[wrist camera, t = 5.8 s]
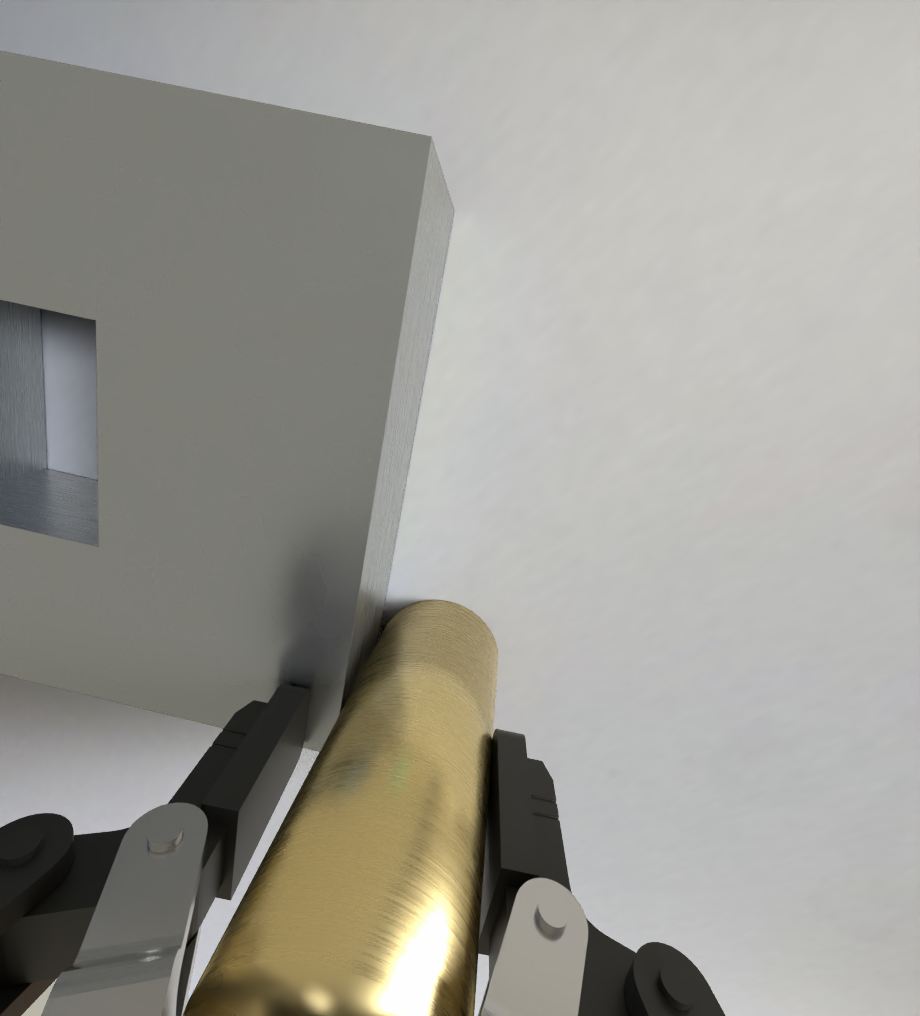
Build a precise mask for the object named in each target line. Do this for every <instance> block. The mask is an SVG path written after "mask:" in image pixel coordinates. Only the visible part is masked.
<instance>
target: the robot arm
mask: <svg viewBox="0 0 920 1016" xmlns="http://www.w3.org/2000/svg"><path fill="white" fill-rule="evenodd" d="M310 696H311V690H310V689H307V688H302V687H297V686H292V685H288V684H283V683H282V684H280V685H279V687H278V688H277V690H276V691H275V693H274V694H273V696H272V697H271V699H270V700H269V702H268V703H266V702H261V701H256V700H253V701H252V702H250V703H249V704H247V705H246V706H244V707H243V708H241V709H240V710H238V711H237V712H235V714H234V715H233V716H232V718H231V719H230V720H229V722H228V723H227V725H226V726H225V727H224V729H223V731H222V733H220V734H219V735H218V737H217V738H216V739H215V741H214V742H213V744H212V747H210V748H209V749H208V750H207V752H206V753H205V754H204V756H203V757H202V758H201V760H200V761H199V762H198V764H197V765H196V766H195V768H194V769H193V771H192V772H191V773H190V775H189V776H188V777H187V779H186V780H185V781H184V783H183V784H182V785H181V787H180V788H179V789H178V791H177V792H176V794H175V795H174V796H173V798H172V799H171V800H170V801H169V803H168V804H166V805H162V806H160V807H157V808H155V809H153V810H151V811H149V812H147V813H146V814H144V815H143V816H141V817H140V818H139V819H138V820H136V821H135V822H134V823H133V824H132V826H131V827H130V828H126V829H122V830H117V831H110V832H101V833H92V834H82V835H73V827H72V824H71V823H70V821H69V820H68V819H67V818H65V817H63V816H61V815H58V814H53V813H43V814H35V815H30V816H27V817H23V818H20V819H18V820H15V821H13V822H11V823H9V824H7V825H5V826H3V827H1V828H0V1016H21V1015H22V1014H23V1013H24V1012H25V1011H26V1010H27V1009H28V1008H29V1007H30V1005H31V1004H32V1003H34V1002H35V1000H36V999H37V998H38V997H39V996H40V995H41V994H42V993H43V992H44V991H45V990H46V989H47V988H48V987H49V986H50V985H51V984H52V983H53V982H54V981H55V979H57V978H58V979H57V981H56V982H55V984H54V986H53V989H52V991H51V993H50V995H49V998H48V1000H47V1003H46V1005H45V1007H44V1010H43V1013H42V1015H41V1016H183V1013H184V1010H185V1008H186V1003H187V998H188V993H189V988H190V983H191V978H192V973H193V968H194V962H195V957H196V952H197V947H198V942H199V937H200V931H201V924H202V922H203V920H204V918H205V916H206V914H207V912H208V910H209V908H210V906H211V905H212V903H213V901H214V899H215V897H217V898H222V899H227V900H231V899H232V896H233V894H234V892H235V890H236V888H237V886H238V884H239V882H240V880H241V878H242V876H243V874H244V872H245V870H246V868H247V866H248V864H249V861H250V859H251V857H252V855H253V853H254V851H255V849H256V847H257V845H258V843H259V841H260V839H261V837H262V835H263V833H264V831H265V828H266V826H267V824H268V822H269V820H270V818H271V816H272V814H273V812H274V810H275V808H276V806H277V804H278V802H279V800H280V798H281V795H282V793H283V791H284V789H285V787H286V785H287V783H288V781H289V779H290V777H291V775H292V773H293V771H294V769H295V767H296V764H297V762H298V760H299V757H300V754H301V751H302V748H303V744H304V740H305V734H306V726H307V719H308V711H309V704H310ZM558 817H559V815H558V809H557V804H556V796H555V790H554V784H553V779H552V778H551V776H550V774H549V772H548V771H547V769H546V767H545V765H544V764H543V762H542V761H539V760H534V759H529V758H527V751H526V742H525V736H524V735H523V734H518V733H513V732H509V731H504V730H499V729H496V730H495V731H494V734H493V738H492V754H491V770H490V786H489V800H488V815H487V830H486V845H485V859H484V874H483V889H482V904H481V918H480V933H479V948H478V953H479V954H484V955H489V981H488V984H487V987H486V990H485V993H484V997H483V1000H482V1003H481V1007H480V1010H479V1013H478V1016H725V1014H724V1012H723V1010H722V1009H721V1007H720V1005H719V1003H718V1001H717V999H716V998H715V996H714V994H713V992H712V990H711V988H710V986H709V985H708V983H707V981H706V980H705V978H704V976H703V975H702V974H701V972H700V971H699V970H698V968H697V967H696V966H695V965H694V964H693V963H692V962H691V961H690V960H689V959H688V958H687V957H686V956H685V955H683V954H682V953H681V952H679V951H678V950H676V949H675V948H673V947H671V946H669V945H666V944H663V943H659V942H651V943H646V944H645V945H643V946H642V947H641V948H640V949H639V950H638V951H637V953H635V952H634V951H632V950H630V949H628V948H627V947H625V946H623V945H622V944H620V943H618V942H616V941H615V940H613V939H611V938H610V937H608V936H606V935H605V934H603V933H602V932H600V931H599V930H598V929H597V928H595V927H594V926H593V925H592V924H591V923H590V922H589V921H588V920H587V918H586V916H585V914H584V911H583V909H582V907H581V905H580V904H579V902H578V901H577V899H576V898H575V897H574V895H573V894H572V892H571V888H570V884H569V878H568V872H567V865H566V859H565V853H564V846H563V840H562V834H561V828H560V821H558Z"/></svg>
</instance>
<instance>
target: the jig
mask: <svg viewBox="0 0 920 1016" xmlns="http://www.w3.org/2000/svg"><path fill="white" fill-rule="evenodd" d="M453 216H454V207H453V204H452V201H451V198H450V194H449V191H448V188H447V185H446V182H445V178H444V175H443V172H442V169H441V165H440V162H439V159H438V156H437V152H436V149H435V146H434V143H433V139H432V137H431V136H426V135H421V134H416V133H411V132H406V131H401V130H396V129H391V128H386V127H381V126H376V125H371V124H366V123H361V122H356V121H351V120H346V119H341V118H336V117H331V116H325V115H320V114H315V113H310V112H305V111H300V110H295V109H290V108H285V107H280V106H275V105H270V104H265V103H260V102H255V101H250V100H245V99H240V98H235V97H230V96H225V95H220V94H215V93H210V92H205V91H200V90H195V89H190V88H185V87H180V86H175V85H170V84H165V83H160V82H155V81H150V80H145V79H140V78H135V77H130V76H125V75H120V74H115V73H110V72H105V71H100V70H95V69H90V68H85V67H80V66H75V65H70V64H65V63H60V62H55V61H50V60H45V59H40V58H35V57H30V56H25V55H20V54H15V53H10V52H5V51H0V674H3V675H7V676H11V677H15V678H19V679H23V680H27V681H32V682H36V683H40V684H44V685H48V686H52V687H56V688H60V689H64V690H69V691H73V692H77V693H81V694H85V695H89V696H93V697H97V698H101V699H106V700H110V701H114V702H118V703H122V704H126V705H130V706H134V707H138V708H143V709H147V710H151V711H155V712H159V713H163V714H167V715H171V716H175V717H180V718H184V719H188V720H192V721H196V722H200V723H204V724H208V725H212V726H217V727H221V728H224V727H225V726H226V725H227V723H228V722H229V720H230V719H231V718H232V716H233V715H234V714H235V712H237V711H238V710H240V709H241V708H243V707H244V706H246V705H247V704H249V703H250V702H252V701H253V700H256V701H261V702H266V703H268V702H269V700H270V699H271V697H272V696H273V694H274V693H275V691H276V690H277V688H278V687H279V685H280V684H282V683H283V684H288V685H292V686H297V687H302V688H307V689H310V690H311V696H310V704H309V711H308V719H307V726H306V734H305V740H304V744H303V748H307V749H311V750H315V751H319V752H320V751H321V749H322V747H323V745H324V743H325V741H326V739H327V737H328V735H329V734H330V732H331V730H332V728H333V726H334V724H335V722H336V720H337V718H338V716H339V715H340V713H341V711H342V709H343V707H344V705H345V703H346V701H347V699H348V698H349V696H350V694H351V692H352V690H353V688H354V686H355V684H356V682H357V680H358V679H359V677H360V675H361V673H362V671H363V669H364V667H365V665H366V663H367V661H368V660H369V658H370V656H371V654H372V652H373V650H374V648H375V646H376V644H377V642H378V638H379V632H380V626H381V621H382V615H383V610H384V604H385V598H386V593H387V587H388V581H389V576H390V570H391V565H392V559H393V553H394V548H395V542H396V536H397V531H398V525H399V520H400V514H401V508H402V503H403V497H404V491H405V486H406V480H407V475H408V469H409V463H410V458H411V452H412V446H413V441H414V435H415V430H416V424H417V418H418V413H419V407H420V401H421V396H422V390H423V385H424V379H425V373H426V368H427V362H428V357H429V351H430V345H431V340H432V334H433V328H434V323H435V317H436V312H437V306H438V300H439V295H440V289H441V283H442V278H443V272H444V267H445V261H446V255H447V250H448V244H449V238H450V233H451V227H452V222H453ZM40 308H41V309H46V310H50V311H55V312H60V313H64V314H69V315H73V316H78V317H83V318H87V319H92V320H96V374H97V449H98V480H94V479H89V478H85V477H80V476H76V475H72V474H67V473H63V472H58V471H54V470H50V469H47V450H46V428H45V405H44V383H43V360H42V338H41V315H40Z"/></svg>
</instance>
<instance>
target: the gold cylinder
mask: <svg viewBox="0 0 920 1016" xmlns="http://www.w3.org/2000/svg"><path fill="white" fill-rule="evenodd" d="M497 668H498V650H497V645H496V642H495V639H494V637H493V634H492V633H491V631H490V629H489V628H488V627H487V625H486V624H485V623H484V622H483V621H482V620H481V619H480V618H479V617H478V616H477V615H476V614H475V613H473V612H472V611H470V610H468V609H467V608H465V607H463V606H460V605H458V604H455V603H452V602H447V601H441V600H427V601H421V602H417V603H414V604H411V605H409V606H407V607H405V608H403V609H402V610H400V611H399V612H398V613H397V614H396V615H394V616H393V618H392V619H391V620H390V621H389V623H388V624H387V626H386V627H385V629H384V631H383V633H382V635H381V637H380V639H379V641H378V642H377V644H376V646H375V648H374V650H373V652H372V654H371V656H370V658H369V660H368V661H367V663H366V665H365V667H364V669H363V671H362V673H361V675H360V677H359V679H358V680H357V682H356V684H355V686H354V688H353V690H352V692H351V694H350V696H349V698H348V699H347V701H346V703H345V705H344V707H343V709H342V711H341V713H340V715H339V716H338V718H337V720H336V722H335V724H334V726H333V728H332V730H331V732H330V734H329V735H328V737H327V739H326V741H325V743H324V745H323V747H322V749H321V751H320V753H319V754H318V756H317V758H316V760H315V762H314V764H313V766H312V768H311V770H310V771H309V773H308V775H307V777H306V779H305V781H304V783H303V785H302V787H301V789H300V790H299V792H298V794H297V796H296V798H295V800H294V802H293V804H292V806H291V808H290V809H289V811H288V813H287V815H286V817H285V819H284V821H283V823H282V825H281V827H280V828H279V830H278V832H277V834H276V836H275V838H274V840H273V842H272V844H271V845H270V847H269V849H268V851H267V853H266V855H265V857H264V859H263V861H262V863H261V864H260V866H259V868H258V870H257V872H256V874H255V876H254V878H253V880H252V882H251V883H250V885H249V887H248V889H247V891H246V893H245V895H244V897H243V899H242V901H241V902H240V904H239V906H238V908H237V910H236V912H235V914H234V916H233V918H232V919H231V921H230V923H229V925H228V927H227V929H226V931H225V933H224V935H223V937H222V938H221V940H220V942H219V944H218V946H217V948H216V950H215V952H214V954H213V956H212V957H211V959H210V961H209V963H208V965H207V967H206V969H205V971H204V973H203V974H202V976H201V978H200V980H199V982H198V984H197V986H196V988H195V990H194V992H193V993H192V995H191V997H190V999H189V1001H188V1003H187V1005H186V1008H185V1010H184V1013H183V1016H474V1007H475V992H476V977H477V963H478V948H479V933H480V918H481V904H482V889H483V874H484V859H485V845H486V830H487V815H488V800H489V786H490V770H491V754H492V738H493V727H494V712H495V697H496V682H497Z"/></svg>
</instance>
